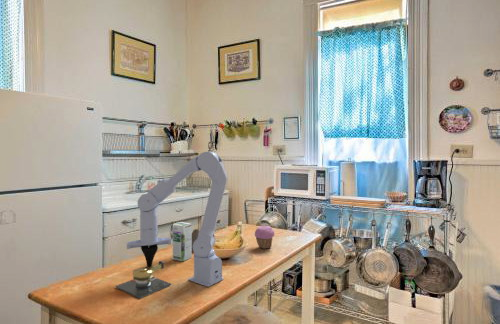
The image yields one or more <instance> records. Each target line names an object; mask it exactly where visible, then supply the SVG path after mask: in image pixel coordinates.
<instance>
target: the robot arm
mask: <svg viewBox="0 0 500 324" xmlns="http://www.w3.org/2000/svg"><path fill="white" fill-rule="evenodd" d="M200 171H203V172H205V174H207V176H208V177H209V178H210V180H211V181H212V182H211V186H210V191H209V194H208V197H207V202H206V206H205V210H204V214H203V219H202V222H201V227H200V229H199V234H198V238H197V239H196V240H195V242H194V243H193V250H192V252H193V276H190V277H189V278H188V279H187V281H189V282H190V281H191V282H193V283H196V284H199V285H202V286H203V287H204V286H205V287H211V286H213V285H215V284H217V283H219V282H220V281H223V280H224V277H223V261H222V259H221V258H220V257H219V256H217V255H216V252H215V249H214V248H213V247H214V246H215V244H216V236H215V234H216V226H217V222H218V218H219V214H220V210H221V206H222V201H223V198H224V194H225V190H226V186H227V183H228V182H227V181H228V175H227V172H226V168H225V166H224V162H223V159H222V158H221V157H220V155H219V154H218V153H217V152H216V151H210V150H209V151H203V152H201V153H200V154H199V155H198V156H195V157H193V158H192V159H191V160H189V161H188V162H187V163H185V164H184V165H183V166H182V167H181V168H180V169H179V170H178V171H176V173H174V174H173V175H172V176H171V177H170V178H166V177H164V178H163V179H161V178H160V179H159V180H157V183H156V184H155V185H154V186H153V187H152V188H148V189H147V190H146V192H147V193H143V194H140V197H138V199H137V206H138V209H139V212H140V213H139V225H140V226H139V232H140V233H139V234H140V238H139V239H138V240H132V241H127V242H126V250H130V249H136V248H140V249H141V252H142V254H143V255H144V258H145V262H146V267H151V266H153V261H154V258H155V255H156V254H157V252H158V249H159V246H163V245H172V238H171V237H158V233H159V232H158V230H159V229H158V228H159V227H158V207H159V205H160V203H162V202H163V201H165V200H166V199H167V198H169V196H171V195H172V194H173V193H175V191H176V186H177V185H178V184H179V183H181V182H182V181H183V180H185V179H186V178H187V177H188V176H190V175H191V174H192V173H194V172H200Z"/></svg>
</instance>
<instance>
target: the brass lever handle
mask: <svg viewBox="0 0 500 324" xmlns="http://www.w3.org/2000/svg"><path fill="white" fill-rule="evenodd" d="M163 269H165V261H164V260H160V261H158V263H156V264H154V265H152V266H151V267H147V266H143V267H137V268H135V269H134V270H133V271H132V279H136V280H146V279H149V278H152V277H154V276H155V274H154V272H157V271H159V270H163Z"/></svg>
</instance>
